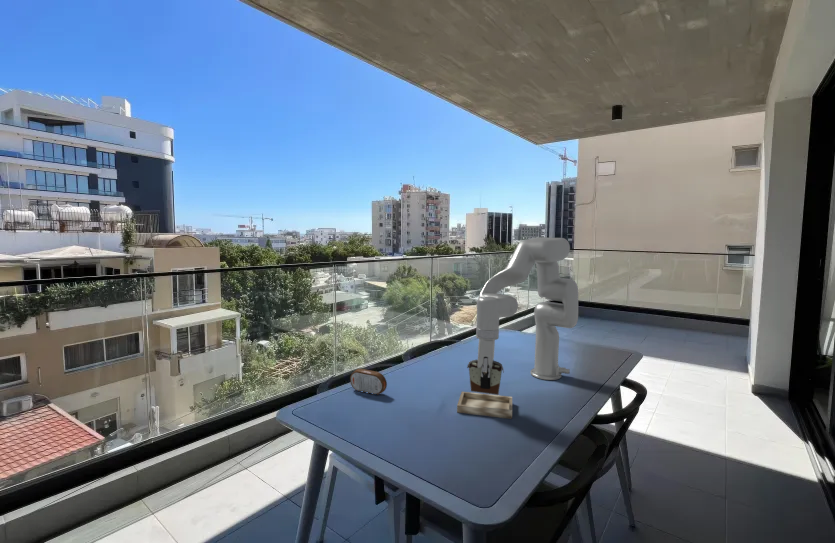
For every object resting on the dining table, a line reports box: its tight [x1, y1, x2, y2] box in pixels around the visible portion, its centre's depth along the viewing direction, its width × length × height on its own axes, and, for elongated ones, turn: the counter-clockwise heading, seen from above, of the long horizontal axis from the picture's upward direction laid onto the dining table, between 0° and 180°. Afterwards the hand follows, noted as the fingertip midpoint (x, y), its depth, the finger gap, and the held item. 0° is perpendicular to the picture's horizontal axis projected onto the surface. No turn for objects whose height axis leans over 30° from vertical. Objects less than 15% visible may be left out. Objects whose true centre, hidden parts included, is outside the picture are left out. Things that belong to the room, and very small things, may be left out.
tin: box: [349, 368, 388, 396], centre depth 146 cm, size 15×3×8 cm, turn 65°
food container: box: [466, 359, 505, 395], centre depth 134 cm, size 12×6×10 cm, turn 71°
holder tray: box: [456, 391, 513, 420], centre depth 134 cm, size 18×12×2 cm, turn 76°
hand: (485, 384), depth 134 cm, fingers closed on food container, 5 cm apart
